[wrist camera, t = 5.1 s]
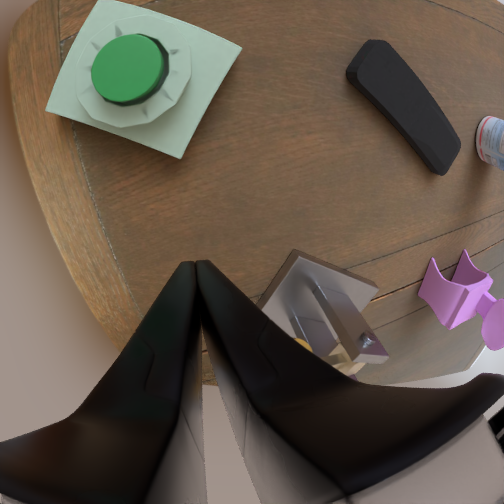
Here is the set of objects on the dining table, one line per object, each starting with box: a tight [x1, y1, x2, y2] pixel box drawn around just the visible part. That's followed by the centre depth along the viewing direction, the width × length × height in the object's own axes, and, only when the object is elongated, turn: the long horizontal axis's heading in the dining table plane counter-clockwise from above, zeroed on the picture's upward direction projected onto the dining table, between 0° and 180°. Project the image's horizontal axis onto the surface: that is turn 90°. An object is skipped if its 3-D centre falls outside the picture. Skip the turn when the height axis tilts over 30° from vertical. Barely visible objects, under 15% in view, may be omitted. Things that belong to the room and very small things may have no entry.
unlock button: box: [91, 34, 164, 102], centre depth 11 cm, size 4×4×2 cm
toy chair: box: [418, 249, 504, 351], centre depth 27 cm, size 8×9×15 cm
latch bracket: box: [256, 249, 389, 381], centre depth 25 cm, size 12×9×10 cm
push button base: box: [45, 0, 242, 159], centre depth 13 cm, size 10×8×4 cm
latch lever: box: [295, 338, 366, 376], centre depth 20 cm, size 11×6×2 cm, turn 61°
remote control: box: [346, 40, 461, 176], centre depth 19 cm, size 5×2×15 cm
